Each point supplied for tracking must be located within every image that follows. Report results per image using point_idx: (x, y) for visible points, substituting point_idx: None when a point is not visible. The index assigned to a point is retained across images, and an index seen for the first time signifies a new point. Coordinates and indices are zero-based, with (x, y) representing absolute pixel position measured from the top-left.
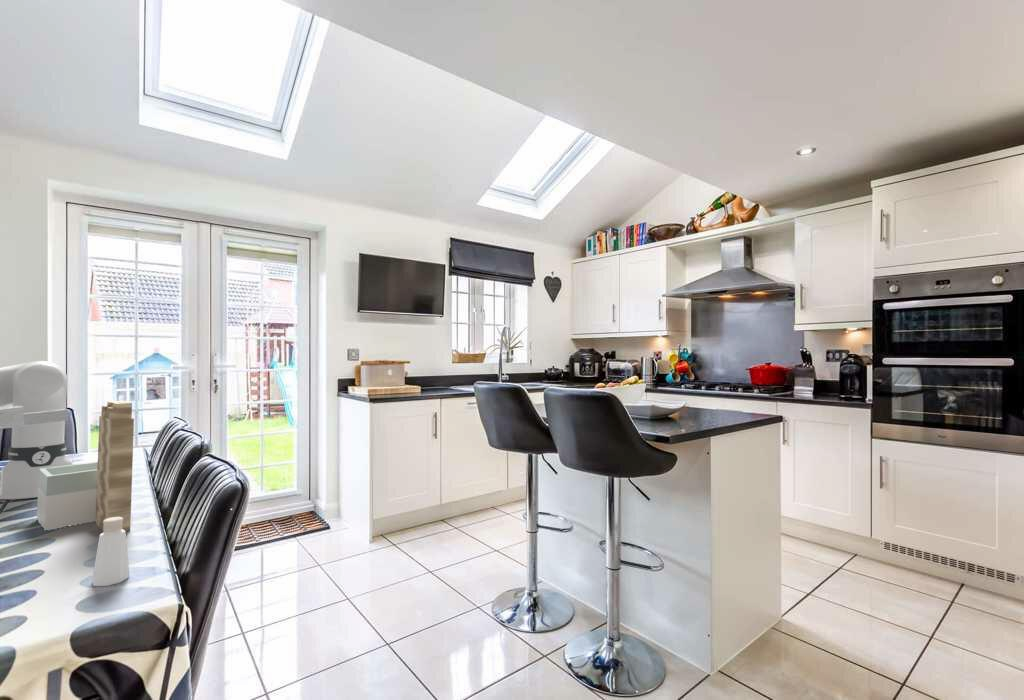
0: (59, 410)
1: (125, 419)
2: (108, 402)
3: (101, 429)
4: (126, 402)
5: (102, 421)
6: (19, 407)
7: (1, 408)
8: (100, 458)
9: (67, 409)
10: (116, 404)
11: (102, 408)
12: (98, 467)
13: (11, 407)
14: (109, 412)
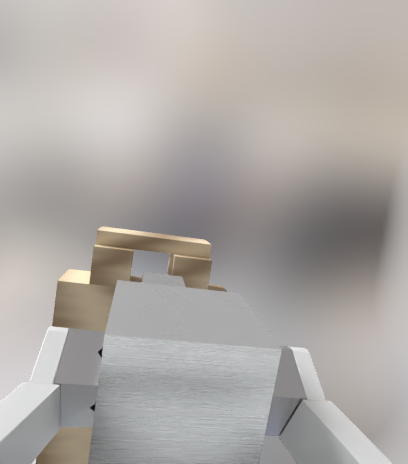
0: (184, 285)
1: (226, 291)
2: (115, 234)
3: (91, 329)
4: (179, 237)
5: (106, 301)
6: (242, 298)
7: (191, 323)
8: (79, 427)
9: (176, 276)
10: (210, 247)
11: (104, 256)
12: (51, 459)
13: (186, 303)
14: (202, 274)
